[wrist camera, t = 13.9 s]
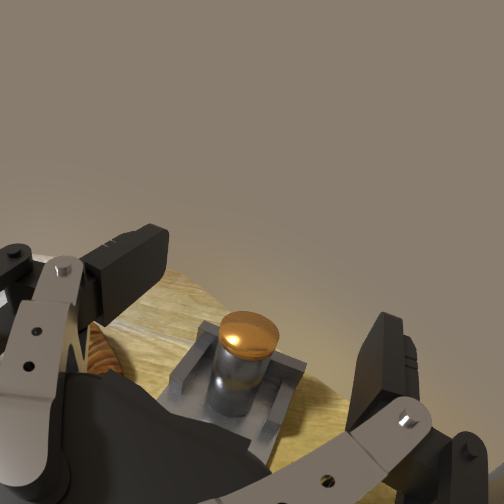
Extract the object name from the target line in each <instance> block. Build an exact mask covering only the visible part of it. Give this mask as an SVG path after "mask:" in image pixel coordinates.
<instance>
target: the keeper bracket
mask: <svg viewBox="0 0 504 504" xmlns="http://www.w3.org/2000/svg"><path fill="white" fill-rule="evenodd" d="M219 329H220V327H218V326H216V325H214V324H212V323H209V322H207V321H205V320H204V321H203V322H202V324H201V325H200V326H199V327H198V332H197V337H196V342H195V343H194V345H193V346H192V347H191V349H190V350H189V351H188V352H187V354H186V355H185V356H184V357H183V359H182V360H181V361H180V362H179V364H178V365H177V366H176V368H175V369H174V370H173V371H172V373H171V374H170V378H169V385H168V386H167V387H166V388H165V390H164V391H163V392H162V394H161V395H160V396H159V397H158V399H157V400H156V401H157V402H158V403H159V404H161V405H162V406H163V407H164V408H165V409H166V410H167V411H169V412H170V413H173V414H176V415H179V416H183V417H187V418H191V419H195V420H199V421H204V422H208V423H212V424H215V425H218V426H220V427H222V428H224V429H227V430H229V431H231V432H234V433H236V434H238V435H241V436H243V437H246V438H248V439H251V440H252V441H251V444H250V446H249V448H248V451H250V452H251V453H253V454H254V455H255V456H257V457H258V458H259V459H260V460H261V461H262V462H263V463H264V464H265V465H266V464H267V461H268V458H269V456H270V453H271V451H272V448H273V446H274V443H275V440H276V438H277V435H278V433H279V430H280V427H281V425H282V423H283V420H284V417H285V415H286V412H287V409H288V406H289V403H290V401H291V398H292V395H293V392H294V390H295V388H296V387H297V385H298V383H299V381H300V379H301V378H302V376H303V374H304V372H305V369H306V365H307V363H305V362H302V361H300V360H297V359H295V358H292V357H289V356H287V355H285V354H282V353H280V352H277V351H274V353H273V354H272V356H271V359H270V361H269V364H268V366H267V369H266V372H265V374H264V377H263V379H262V382H261V385H260V387H259V390H258V392H257V395H256V397H255V400H254V402H253V405H252V407H251V409H250V410H249V411H248V412H247V413H246V414H244V415H242V416H238V417H228V416H224V415H221V414H219V413H217V412H216V411H214V410H213V409H212V408H211V407H210V406H209V404H208V402H207V398H206V394H207V389H208V385H209V380H210V375H211V371H212V366H213V362H214V357H215V353H216V348H217V344H218V334H219Z"/></svg>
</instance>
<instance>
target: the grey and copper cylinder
mask: <svg viewBox="0 0 504 504" xmlns="http://www.w3.org/2000/svg"><path fill="white" fill-rule="evenodd" d="M278 340H279V331H278V329H277V327H276V326H275V325H274V323H272V322H271V321H270V320H269V319H267V318H266V317H264V316H262V315H259V314H256V313H253V312H247V311H238V312H233V313H230V314H228V315H226V316H225V317H224V318H223V319H222V321H221V325H220V329H219V334H218V344H217V348H216V353H215V357H214V362H213V366H212V371H211V375H210V380H209V385H208V389H207V394H206V398H207V402H208V404H209V406H210V407H211V408H212V409H213V410H214V411H216V412H217V413H219V414H221V415H224V416H228V417H238V416H242V415H244V414H246V413H247V412H248V411H249V410H250V409H251V407H252V405H253V402H254V400H255V397H256V395H257V392H258V390H259V387H260V385H261V382H262V379H263V377H264V374H265V372H266V369H267V366H268V364H269V361H270V359H271V356H272V354H273V353H274V351H275V348H276V346H277V343H278Z"/></svg>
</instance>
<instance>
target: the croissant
mask: <svg viewBox="0 0 504 504" xmlns="http://www.w3.org/2000/svg"><path fill="white" fill-rule="evenodd" d="M110 368H111V369H112V370H114V371H116V372H117V373H119V374H120V375H122V376H124V373H123V371H122V368H121V365H120V362H119V360H118V358H117V355H116V353H115V351H114V349H113V348H112V347H111V346H110V345H109V344H108V342H107V339H106V337H105V335H104V334H103V332H102V331H101V329H100V328H99V326H97V325H96V324H95V323H94V322H92V323H91V324H90V337H89V349H88V362H87V373H91V374H96V375H100V376H103V375H104V374H105V373H106V372H107V371H108V370H109V369H110Z"/></svg>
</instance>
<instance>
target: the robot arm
mask: <svg viewBox="0 0 504 504" xmlns="http://www.w3.org/2000/svg"><path fill="white" fill-rule="evenodd" d="M168 243H169V232H168V230H166V229H164V228H161V227H158V226H156V225H153V224H147V225H145V226H143V227H142V228H140V229H138V230H136V231H131V232H127V233H123V234H121V235H119V236H117V237H115V238H114V239H112V241H108V242H107V243H105V244H104V245H101V246H100V247H98V248H97V249H95V250H93V251H91V252H90V253H88V254H86V255H85V256H83V257H81V258H80V259H78V258H76V257H72V256H59V257H55V258H53V259H51V260H49V261H48V262H47V263H42V262H38V261H34V260H33V259H32V252H31V248H30V247H29V246H27V245H25V244H11V245H8V246H6V247H4V248H2V249H0V292H1V291H2V290H5V294H6V298H7V302H8V303H6V304H5V305H4V306H2V307H1V308H0V355H1V354H2V353H3V352H4V351H5V352H4V356H3V359H2V363H1V367H0V504H355V503H356V502H357V501H358V500H360V499H361V498H362V497H363V496H365V495H366V494H367V493H368V492H369V491H371V490H372V489H373V488H374V487H375V486H376V485H377V484H379V483H380V482H383V483H385V484H386V485H388V486H390V487H392V488H393V489H395V490H397V494H396V499H395V504H504V463H503V464H501V465H500V466H499V467H497V468H496V469H495V470H494V471H493V472H491V473H490V474H488V459H487V458H488V457H487V450H486V447H485V445H484V443H483V442H482V440H481V439H480V438H479V437H478V436H476V435H475V434H473V433H471V432H467V431H464V432H460V433H458V434H457V435H456V436H455V437H454V438H453V439H451V438H450V437H448V436H446V435H444V434H443V433H441V432H439V431H438V430H436V429H434V428H433V427H432V420H431V415H430V413H429V411H428V410H427V408H426V407H425V406H424V405H423V404H422V403H421V402H420V397H419V377H418V371H417V370H418V363H417V362H416V361H417V353H416V347H415V345H414V344H413V342H412V340H411V338H410V337H409V336H406V335H403V321H402V319H401V318H399V317H396V316H393V315H390V314H388V313H385V312H381V313H380V315H379V316H378V318H377V320H376V321H375V323H374V325H373V327H372V329H371V331H370V332H369V334H368V336H367V338H366V340H365V341H364V343H363V345H362V347H361V349H360V352H359V354H358V357H357V362H356V370H355V376H354V382H353V389H352V395H351V401H350V406H349V412H348V417H347V423H346V428H345V432H343V433H341V434H339V435H338V436H336V437H335V438H333V439H332V440H330V441H328V442H327V443H325V444H324V445H322V446H320V447H319V448H317V449H315V450H314V451H312V452H310V453H309V454H307V455H305V456H304V457H302V458H300V459H298V460H297V461H295V462H293V463H291V464H289V465H288V466H286V467H284V468H282V469H280V470H278V471H276V472H275V473H273V474H272V472H271V471H270V470H269V468H268V467H267V466H266V465H265V464H264V463H263V462H262V461H261V460H260V459H259V458H258V457H257V456H255V455H254V454H253V453H251V452H250V451H248V448H249V446H250V444H251V441H252V440H251V439H248V438H246V437H243V436H241V435H238V434H236V433H234V432H231V431H229V430H227V429H224V428H222V427H220V426H218V425H215V424H212V423H208V422H204V421H199V420H195V419H191V418H187V417H183V416H179V415H176V414H173V413H170V412H169V411H167V410H166V409H165V408H164V407H163V406H162V405H161V404H159V403H158V402H157V401H156V400H155V399H154V398H153V397H152V396H151V395H149V394H148V393H147V392H146V391H145V390H144V389H143V388H142V387H141V386H139V385H137V384H136V383H134V382H132V381H130V380H129V379H127V378H125V377H124V376H122V375H120V374H119V373H117V372H116V371H114V370H112V369H111V368H110V369H109V370H108V371H107V372H106V373H105V374H104V375H103V376H100V375H96V374H91V373H87V362H88V349H89V337H90V324H91V323H92V322H93V321H95V322H97V323H99V324H100V325H102V326H103V327H106V326H107V325H108V324H110V323H111V322H112V321H113V320H114V319H115V318H116V317H118V316H119V315H120V314H121V313H122V312H123V311H125V310H126V309H127V308H128V307H129V306H130V305H131V304H133V303H134V302H135V301H136V300H137V299H139V298H140V297H141V296H142V295H143V294H144V293H146V292H147V291H148V290H149V289H150V288H151V287H153V286H154V285H155V284H156V283H157V282H159V281H160V279H161V278H162V276H163V275H164V272H165V269H166V263H167V253H168Z"/></svg>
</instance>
